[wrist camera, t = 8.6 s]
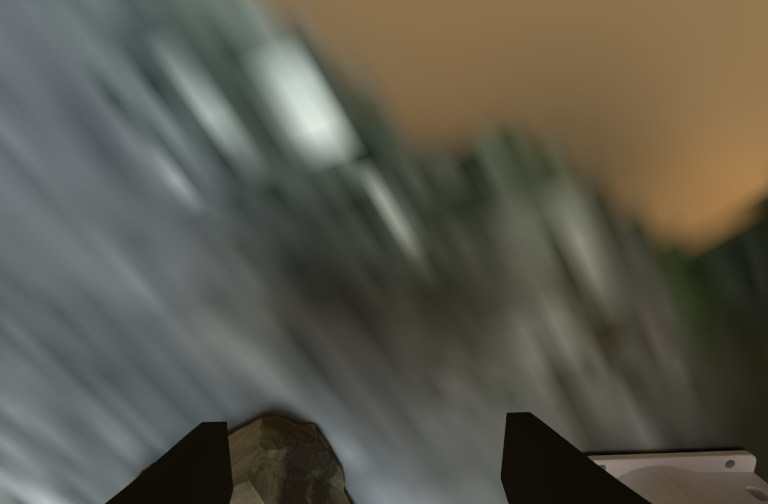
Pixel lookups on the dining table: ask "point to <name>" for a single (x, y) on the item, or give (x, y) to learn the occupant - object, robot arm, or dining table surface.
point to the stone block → (283, 465)
